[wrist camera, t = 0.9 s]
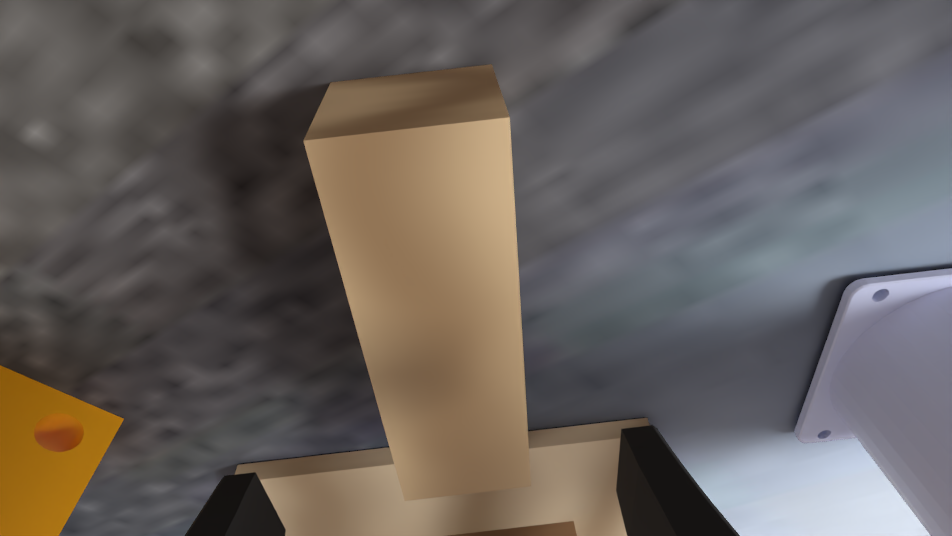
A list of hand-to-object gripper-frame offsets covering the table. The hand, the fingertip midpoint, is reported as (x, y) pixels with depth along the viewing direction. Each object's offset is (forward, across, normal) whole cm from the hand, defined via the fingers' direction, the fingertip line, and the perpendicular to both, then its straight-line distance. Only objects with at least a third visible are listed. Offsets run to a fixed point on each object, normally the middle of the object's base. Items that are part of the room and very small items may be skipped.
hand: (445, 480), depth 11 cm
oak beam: (+8, 0, 0) cm, 8 cm away
